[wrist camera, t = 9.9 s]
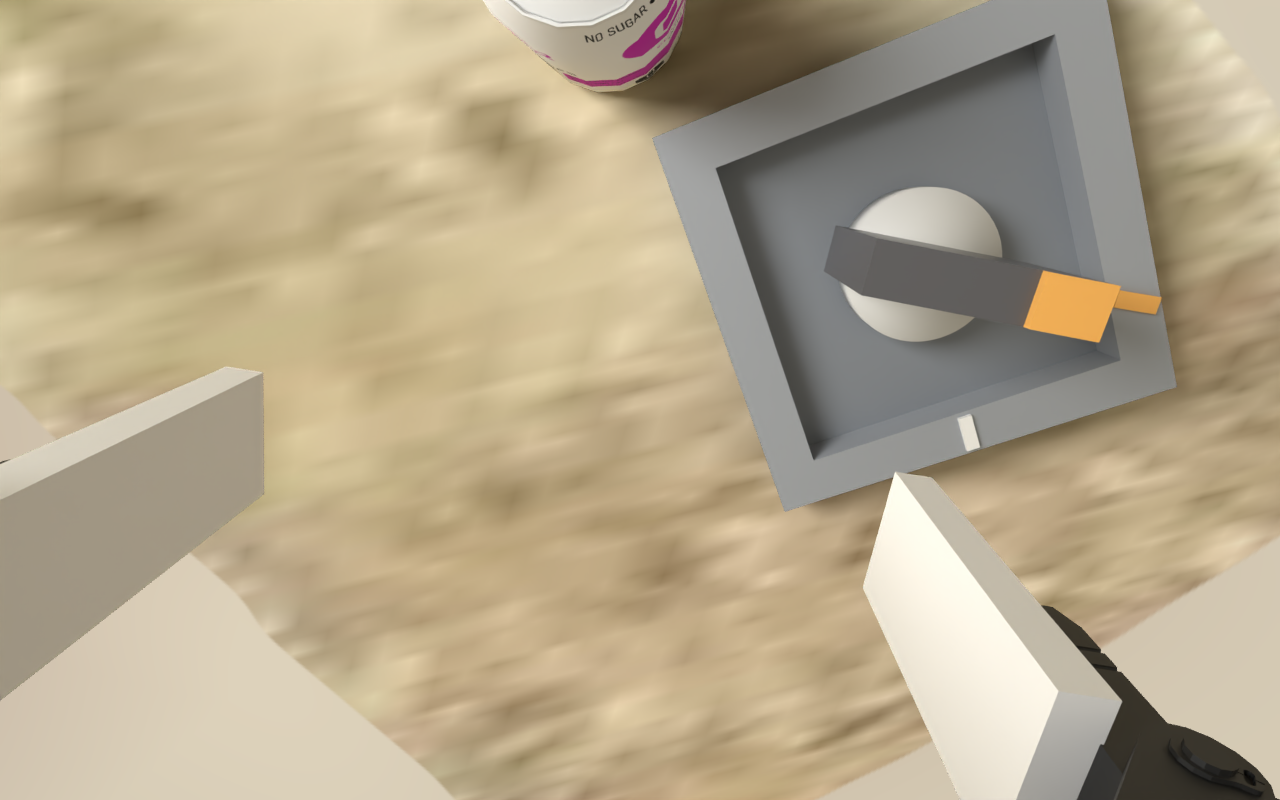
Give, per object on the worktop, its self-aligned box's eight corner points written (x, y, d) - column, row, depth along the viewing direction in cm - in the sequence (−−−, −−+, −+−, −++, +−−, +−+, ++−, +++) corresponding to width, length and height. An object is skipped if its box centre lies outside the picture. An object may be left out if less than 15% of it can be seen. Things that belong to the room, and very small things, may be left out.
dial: (803, 315, 41) (846, 361, 31) (841, 169, 39) (900, 167, 29) (977, 349, 41) (1074, 405, 31) (1025, 205, 39) (1148, 216, 29)
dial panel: (653, 141, 40) (652, 137, 36) (1060, -24, 37) (1101, -46, 33) (776, 487, 46) (785, 513, 42) (1137, 370, 43) (1179, 388, 39)
